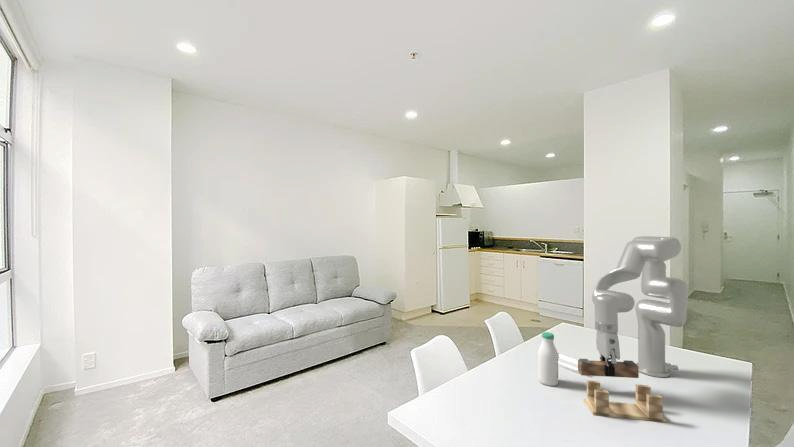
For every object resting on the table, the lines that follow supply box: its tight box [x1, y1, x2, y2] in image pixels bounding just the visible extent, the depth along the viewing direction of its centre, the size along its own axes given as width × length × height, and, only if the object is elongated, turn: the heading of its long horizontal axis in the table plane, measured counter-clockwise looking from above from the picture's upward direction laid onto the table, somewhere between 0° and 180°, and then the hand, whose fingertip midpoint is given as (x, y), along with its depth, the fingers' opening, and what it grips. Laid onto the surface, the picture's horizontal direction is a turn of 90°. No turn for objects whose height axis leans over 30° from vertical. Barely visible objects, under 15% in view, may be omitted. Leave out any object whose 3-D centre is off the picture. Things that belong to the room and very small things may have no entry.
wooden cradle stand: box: [583, 379, 667, 423], centre depth 115 cm, size 22×8×8 cm, turn 79°
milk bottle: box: [537, 331, 559, 387], centre depth 136 cm, size 8×8×20 cm
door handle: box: [557, 352, 592, 378], centre depth 153 cm, size 3×10×25 cm
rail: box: [577, 358, 640, 379], centre depth 128 cm, size 20×4×5 cm, turn 79°
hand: (607, 372), depth 128 cm, fingers closed on rail, 3 cm apart
